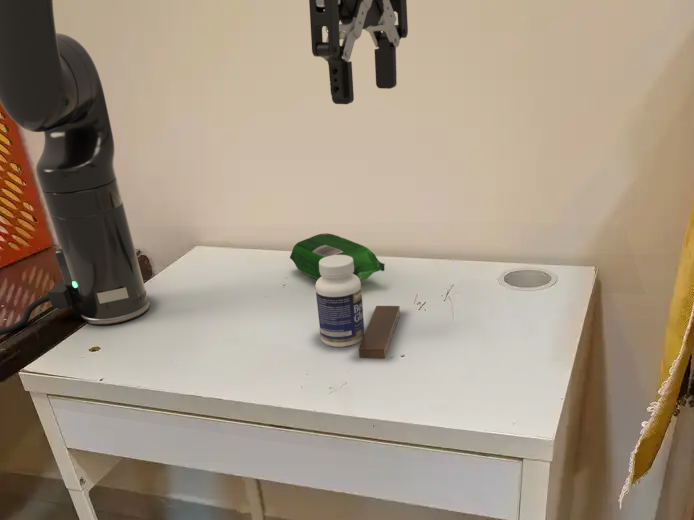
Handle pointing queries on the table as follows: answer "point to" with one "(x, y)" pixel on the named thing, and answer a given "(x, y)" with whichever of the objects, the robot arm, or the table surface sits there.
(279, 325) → the table surface
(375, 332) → the bar
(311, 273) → the snack package
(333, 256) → the pill bottle
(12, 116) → the robot arm
